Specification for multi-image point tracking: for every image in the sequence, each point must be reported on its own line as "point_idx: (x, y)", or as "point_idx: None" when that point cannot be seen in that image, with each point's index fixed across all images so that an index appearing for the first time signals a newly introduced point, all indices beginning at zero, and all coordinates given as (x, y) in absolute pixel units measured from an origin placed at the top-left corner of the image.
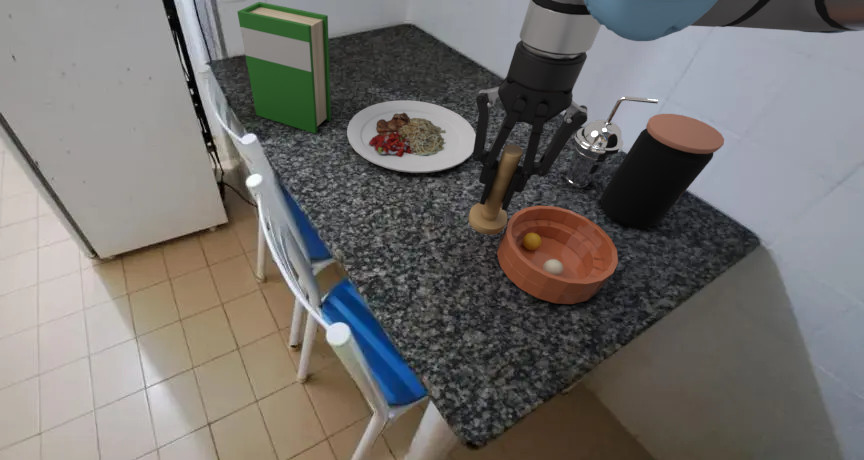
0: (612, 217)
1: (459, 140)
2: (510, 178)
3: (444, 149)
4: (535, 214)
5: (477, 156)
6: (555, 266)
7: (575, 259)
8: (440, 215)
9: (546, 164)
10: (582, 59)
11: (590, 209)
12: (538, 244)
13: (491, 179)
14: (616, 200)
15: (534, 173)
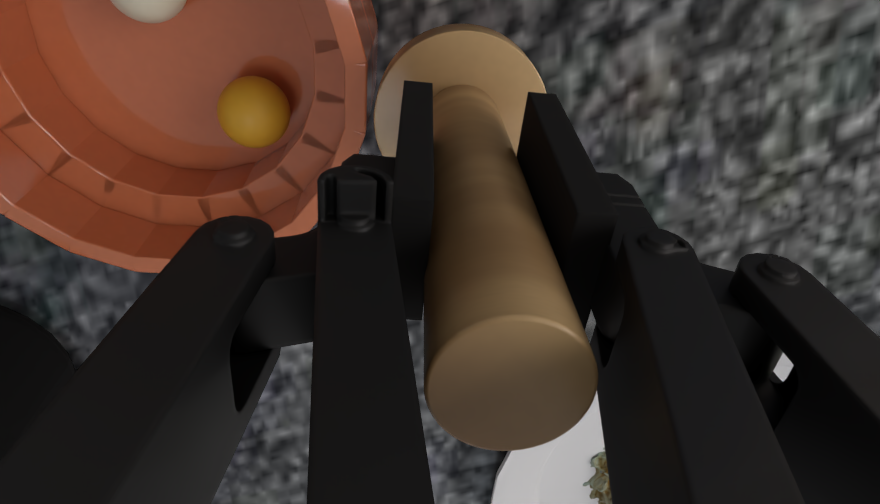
0: (22, 320)
1: (540, 502)
2: (445, 211)
3: (588, 459)
4: None
5: (785, 281)
6: None
7: (86, 88)
8: (601, 172)
9: (197, 293)
10: None
11: (100, 338)
12: (225, 92)
13: (573, 175)
14: (5, 374)
15: (291, 244)
